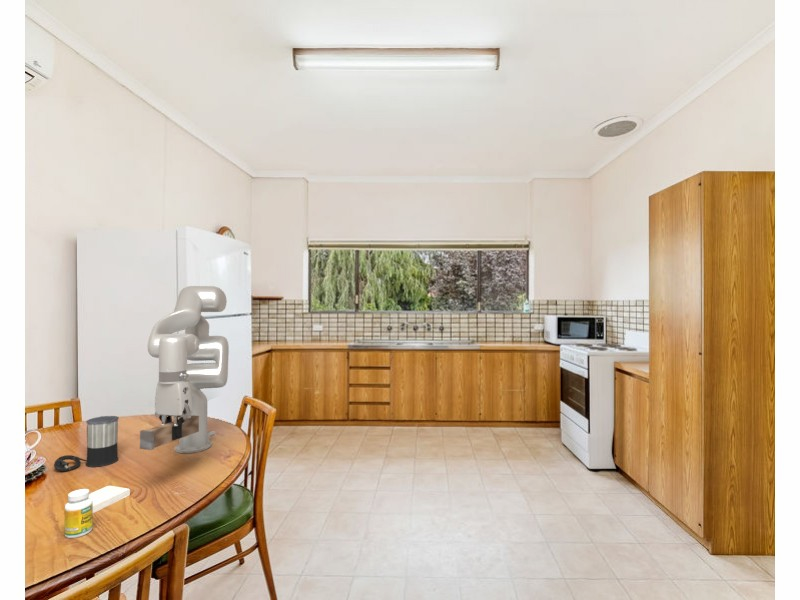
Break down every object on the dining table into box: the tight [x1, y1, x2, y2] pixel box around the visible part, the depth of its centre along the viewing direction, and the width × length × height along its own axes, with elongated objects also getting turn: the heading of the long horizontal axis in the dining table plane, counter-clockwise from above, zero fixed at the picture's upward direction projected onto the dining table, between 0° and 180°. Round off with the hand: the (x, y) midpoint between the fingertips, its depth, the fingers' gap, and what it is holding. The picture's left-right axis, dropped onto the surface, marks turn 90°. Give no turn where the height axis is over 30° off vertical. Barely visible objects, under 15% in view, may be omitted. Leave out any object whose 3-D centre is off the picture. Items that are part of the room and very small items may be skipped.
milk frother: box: [53, 415, 120, 472], centre depth 143 cm, size 14×16×15 cm
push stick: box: [139, 415, 199, 451], centre depth 128 cm, size 19×4×5 cm, turn 164°
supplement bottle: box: [64, 488, 94, 539], centre depth 101 cm, size 5×5×10 cm
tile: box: [65, 484, 131, 514], centre depth 116 cm, size 2×8×12 cm
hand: (172, 437), depth 128 cm, fingers closed on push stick, 2 cm apart
